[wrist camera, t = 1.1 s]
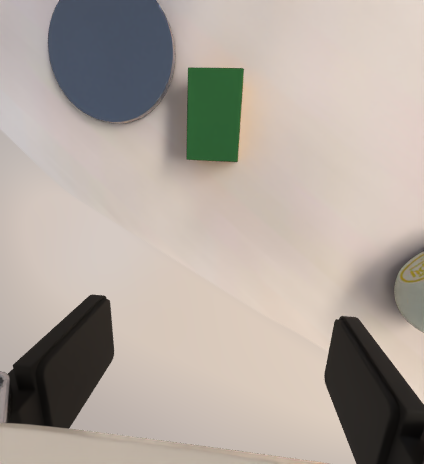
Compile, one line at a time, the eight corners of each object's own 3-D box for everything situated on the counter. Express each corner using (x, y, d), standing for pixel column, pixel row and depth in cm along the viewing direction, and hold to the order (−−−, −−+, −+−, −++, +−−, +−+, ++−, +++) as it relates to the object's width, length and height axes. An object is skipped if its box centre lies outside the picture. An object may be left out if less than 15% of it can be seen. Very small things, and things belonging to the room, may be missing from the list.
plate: (50, -17, 26) (39, -27, 24) (177, -18, 25) (173, -29, 23) (64, 122, 29) (55, 120, 28) (176, 126, 28) (172, 124, 27)
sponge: (195, 80, 27) (188, 67, 23) (243, 81, 26) (243, 68, 23) (193, 159, 29) (186, 159, 25) (237, 161, 29) (237, 161, 25)
